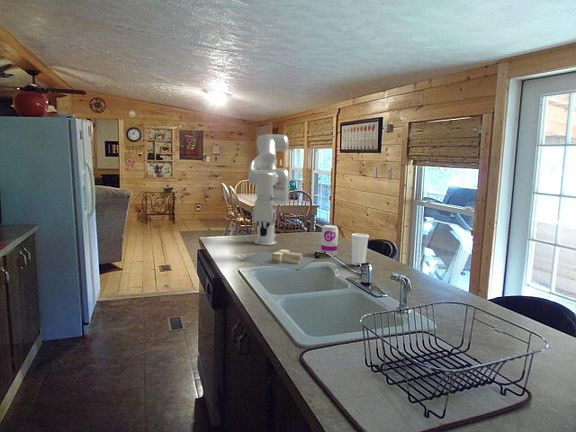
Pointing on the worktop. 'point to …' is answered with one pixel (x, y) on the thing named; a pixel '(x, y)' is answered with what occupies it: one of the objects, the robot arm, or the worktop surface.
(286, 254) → the t block
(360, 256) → the cup
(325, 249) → the supplement can
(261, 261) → the mat
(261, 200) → the robot arm
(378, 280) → the worktop surface
